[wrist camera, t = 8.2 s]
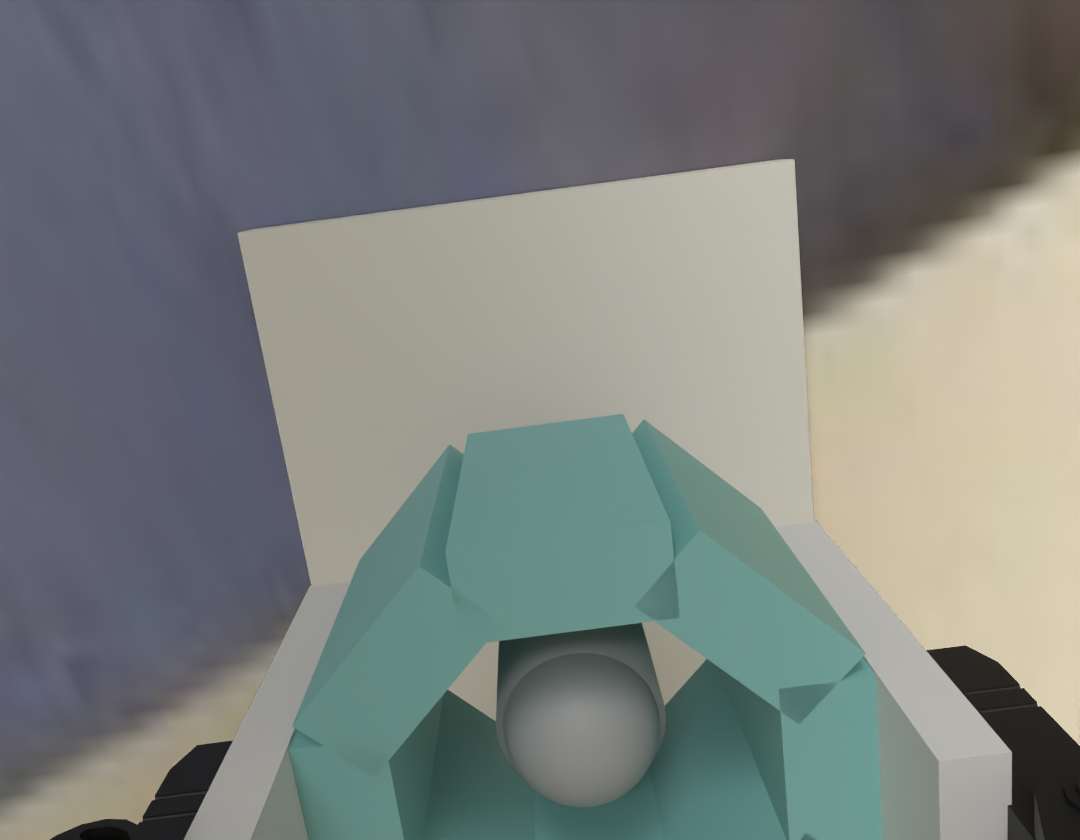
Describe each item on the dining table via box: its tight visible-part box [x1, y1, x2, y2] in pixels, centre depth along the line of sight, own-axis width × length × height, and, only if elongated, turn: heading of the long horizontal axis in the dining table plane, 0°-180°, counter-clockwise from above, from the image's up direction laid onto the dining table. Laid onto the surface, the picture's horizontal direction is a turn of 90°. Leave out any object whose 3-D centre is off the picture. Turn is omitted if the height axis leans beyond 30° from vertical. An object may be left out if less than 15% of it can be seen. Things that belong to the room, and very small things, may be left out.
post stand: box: [238, 159, 814, 807], centre depth 18 cm, size 14×12×11 cm
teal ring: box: [289, 414, 882, 840], centre depth 14 cm, size 7×7×5 cm
